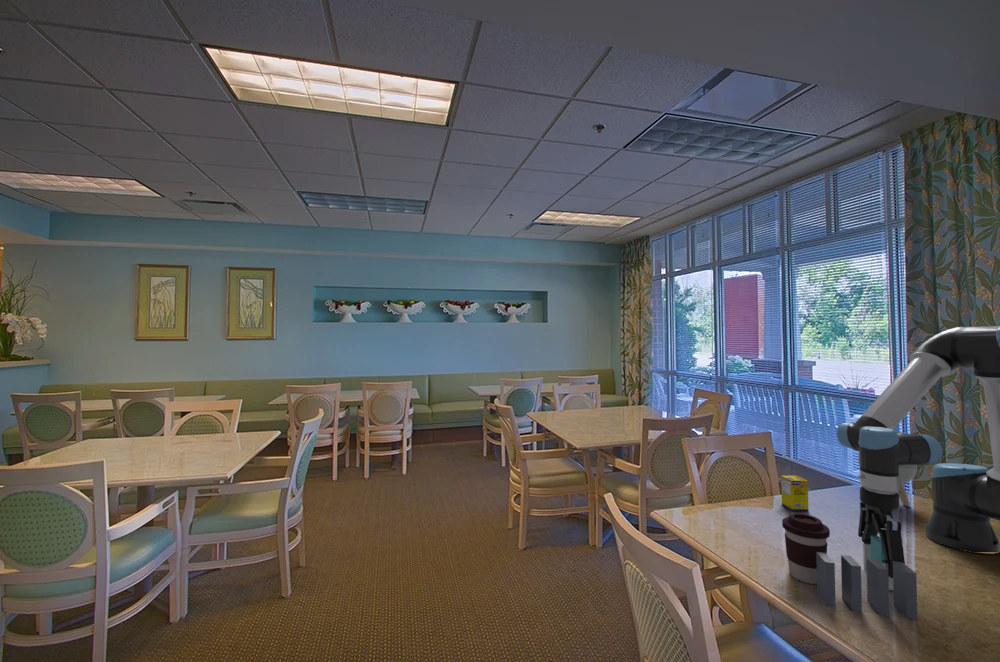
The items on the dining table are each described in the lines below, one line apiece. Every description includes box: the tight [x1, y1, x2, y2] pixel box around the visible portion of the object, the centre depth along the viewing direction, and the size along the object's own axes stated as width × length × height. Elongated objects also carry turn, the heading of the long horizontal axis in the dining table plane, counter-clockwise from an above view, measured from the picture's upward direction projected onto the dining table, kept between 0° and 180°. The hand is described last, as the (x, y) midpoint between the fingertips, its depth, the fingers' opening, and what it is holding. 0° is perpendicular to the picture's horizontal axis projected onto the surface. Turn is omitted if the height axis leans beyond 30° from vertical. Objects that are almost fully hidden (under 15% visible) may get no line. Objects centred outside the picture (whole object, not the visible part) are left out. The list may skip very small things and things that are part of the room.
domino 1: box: [816, 552, 837, 609], centre depth 100 cm, size 2×5×10 cm, turn 163°
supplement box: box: [780, 475, 809, 512], centre depth 155 cm, size 6×6×11 cm
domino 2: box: [840, 554, 863, 612], centre depth 99 cm, size 2×5×10 cm, turn 163°
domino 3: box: [871, 535, 885, 565], centre depth 109 cm, size 2×5×10 cm, turn 163°
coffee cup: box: [781, 512, 831, 585], centre depth 110 cm, size 10×10×15 cm
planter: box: [857, 454, 918, 507], centre depth 158 cm, size 16×16×22 cm
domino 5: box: [892, 561, 918, 621], centre depth 96 cm, size 2×5×10 cm, turn 163°
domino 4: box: [866, 558, 890, 616], centre depth 97 cm, size 2×5×10 cm, turn 163°
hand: (880, 579), depth 108 cm, fingers open, 9 cm apart
